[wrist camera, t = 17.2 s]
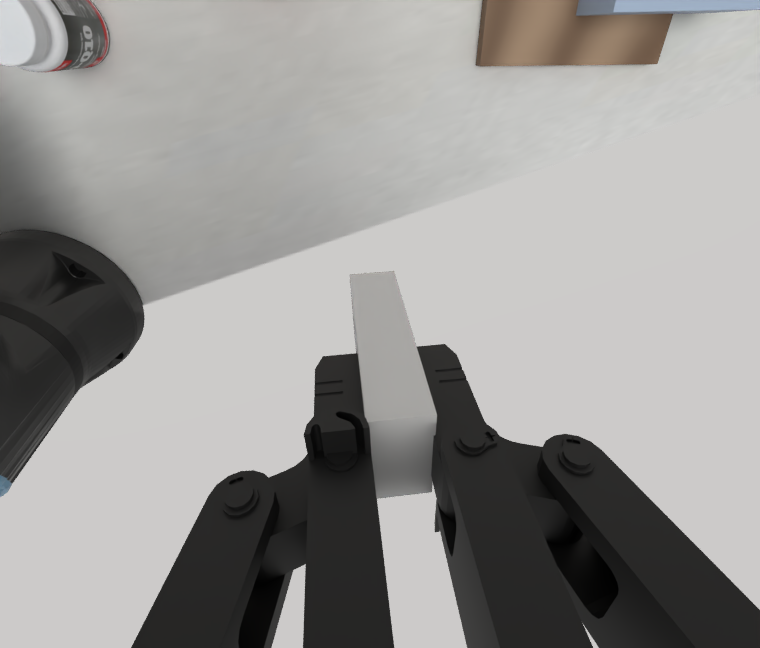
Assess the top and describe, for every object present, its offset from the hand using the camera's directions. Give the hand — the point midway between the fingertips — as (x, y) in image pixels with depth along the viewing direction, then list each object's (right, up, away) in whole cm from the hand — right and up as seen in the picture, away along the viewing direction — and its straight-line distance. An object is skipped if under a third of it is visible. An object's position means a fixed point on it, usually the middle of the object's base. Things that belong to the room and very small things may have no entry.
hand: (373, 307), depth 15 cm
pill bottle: (-21, +20, +15) cm, 33 cm away
